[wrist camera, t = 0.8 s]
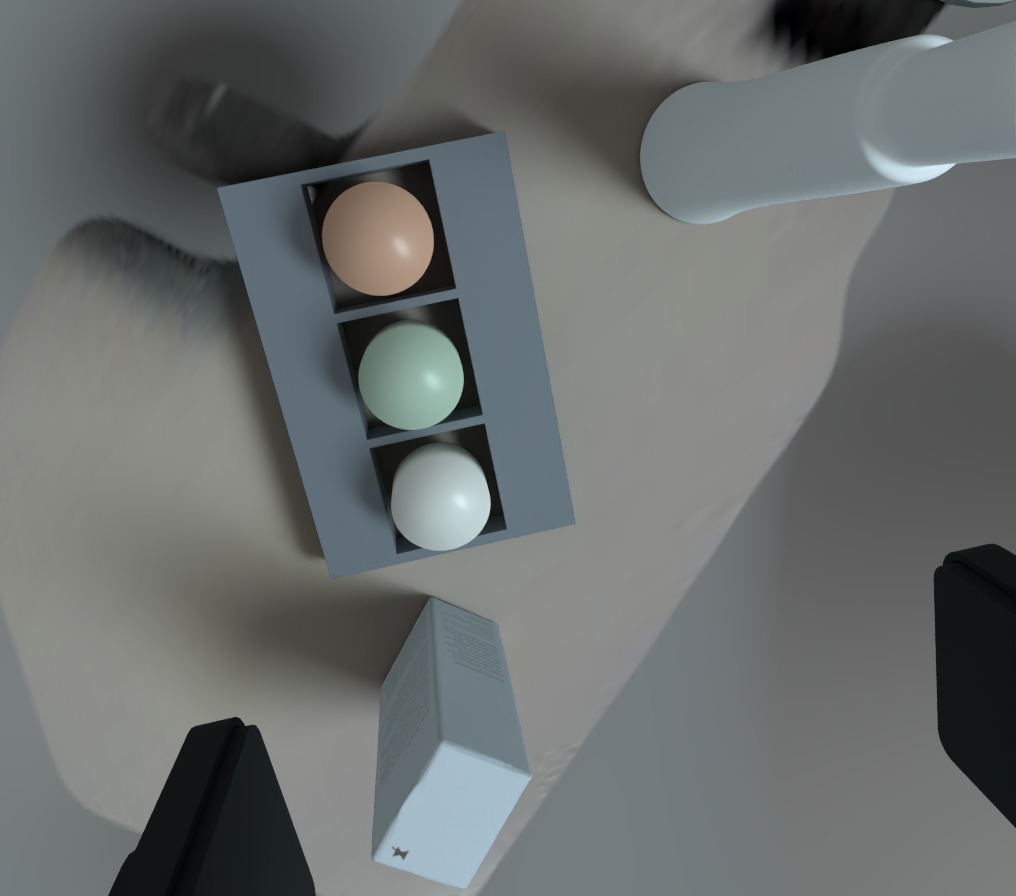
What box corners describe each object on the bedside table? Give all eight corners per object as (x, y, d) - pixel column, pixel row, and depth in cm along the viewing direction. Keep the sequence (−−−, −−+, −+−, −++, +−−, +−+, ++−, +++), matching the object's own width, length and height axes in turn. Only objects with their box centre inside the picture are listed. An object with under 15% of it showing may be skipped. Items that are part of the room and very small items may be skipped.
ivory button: (475, 433, 36) (479, 448, 34) (494, 519, 38) (498, 538, 35) (382, 453, 36) (380, 469, 34) (404, 539, 37) (403, 560, 35)
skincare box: (451, 712, 42) (464, 896, 31) (379, 685, 41) (365, 864, 30) (503, 621, 41) (536, 778, 30) (430, 590, 40) (436, 740, 29)
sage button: (449, 310, 35) (451, 317, 32) (469, 404, 36) (473, 417, 34) (351, 330, 34) (346, 339, 32) (375, 425, 36) (372, 439, 33)
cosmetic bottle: (713, 51, 34) (1180, -205, 13) (793, 159, 36) (1317, 82, 15) (611, 150, 35) (902, 57, 14) (694, 251, 37) (1062, 302, 16)
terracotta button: (420, 174, 33) (420, 171, 31) (442, 279, 34) (444, 283, 32) (316, 195, 33) (309, 193, 30) (343, 299, 34) (338, 305, 32)
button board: (499, 135, 34) (504, 130, 32) (568, 508, 40) (575, 523, 38) (228, 189, 34) (216, 188, 32) (335, 560, 39) (331, 578, 37)
